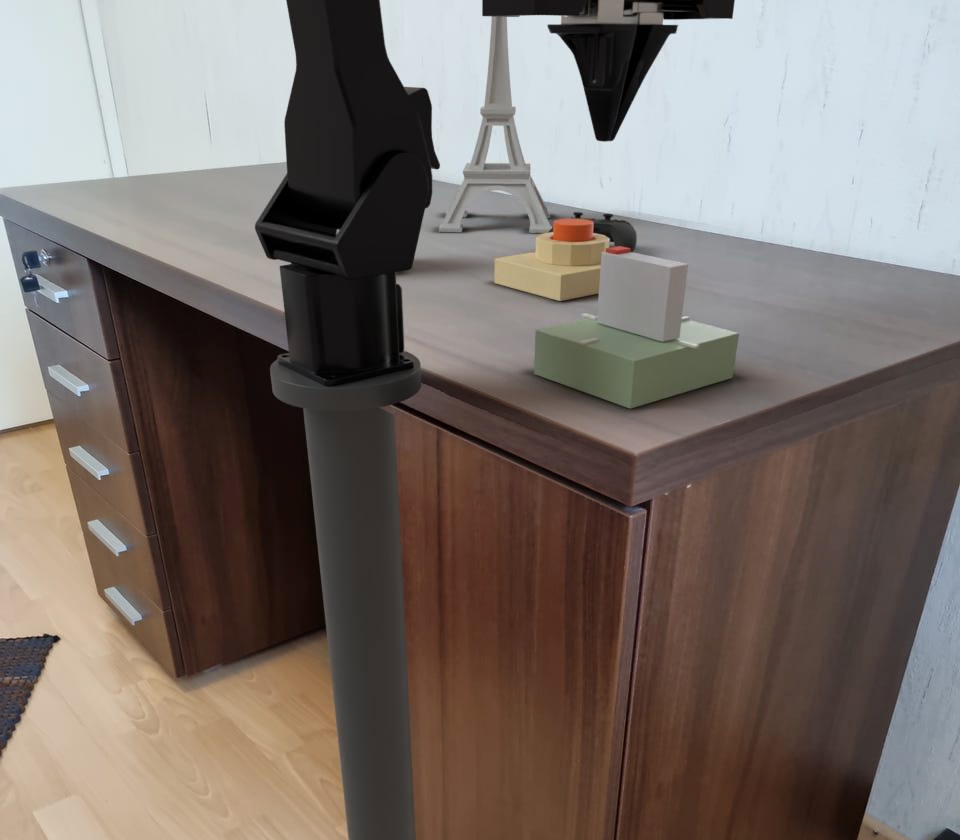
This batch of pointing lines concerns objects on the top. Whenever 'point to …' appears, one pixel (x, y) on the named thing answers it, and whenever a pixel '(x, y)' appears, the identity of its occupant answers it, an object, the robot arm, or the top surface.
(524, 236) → the top surface
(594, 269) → the switch
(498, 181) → the eiffel tower
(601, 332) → the panel
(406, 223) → the robot arm
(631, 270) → the white square block
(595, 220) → the gaming controller
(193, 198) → the top surface
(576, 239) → the button
